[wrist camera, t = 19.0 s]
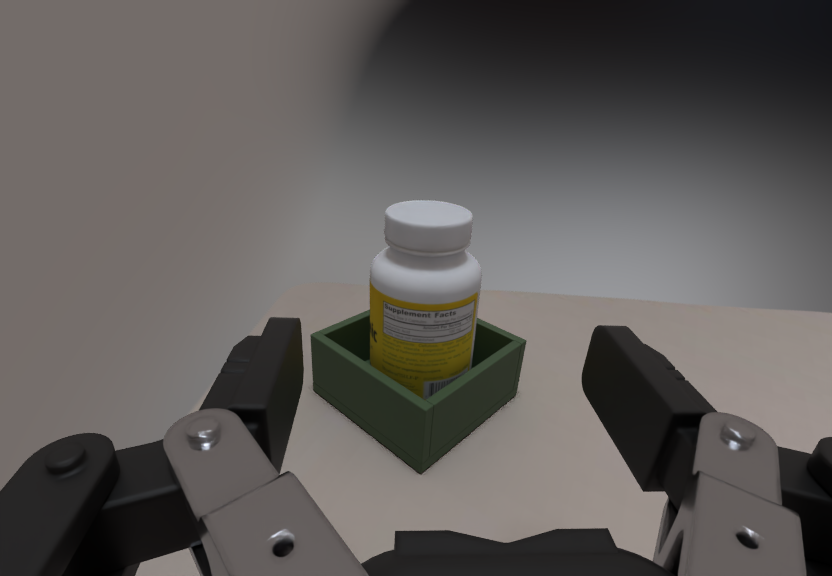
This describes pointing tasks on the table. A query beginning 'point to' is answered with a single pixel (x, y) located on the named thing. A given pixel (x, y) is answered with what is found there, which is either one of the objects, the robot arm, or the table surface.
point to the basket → (402, 409)
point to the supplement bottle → (424, 296)
